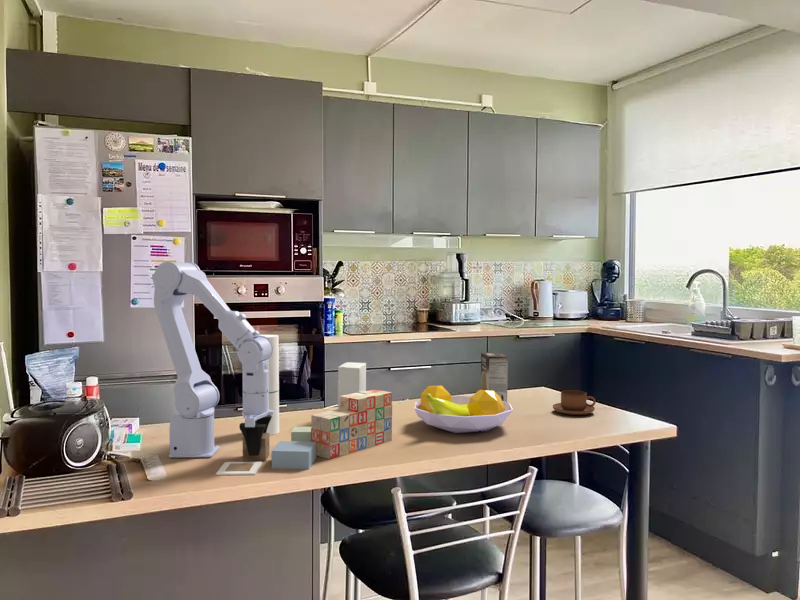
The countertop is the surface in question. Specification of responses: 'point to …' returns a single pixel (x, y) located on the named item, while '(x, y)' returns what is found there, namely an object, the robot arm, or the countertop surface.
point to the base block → (294, 455)
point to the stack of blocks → (353, 424)
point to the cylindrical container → (274, 385)
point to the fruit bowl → (462, 410)
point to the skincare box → (351, 378)
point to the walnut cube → (263, 450)
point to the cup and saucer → (574, 403)
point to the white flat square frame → (239, 468)
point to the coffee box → (494, 373)
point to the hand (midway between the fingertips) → (256, 451)
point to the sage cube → (301, 434)
